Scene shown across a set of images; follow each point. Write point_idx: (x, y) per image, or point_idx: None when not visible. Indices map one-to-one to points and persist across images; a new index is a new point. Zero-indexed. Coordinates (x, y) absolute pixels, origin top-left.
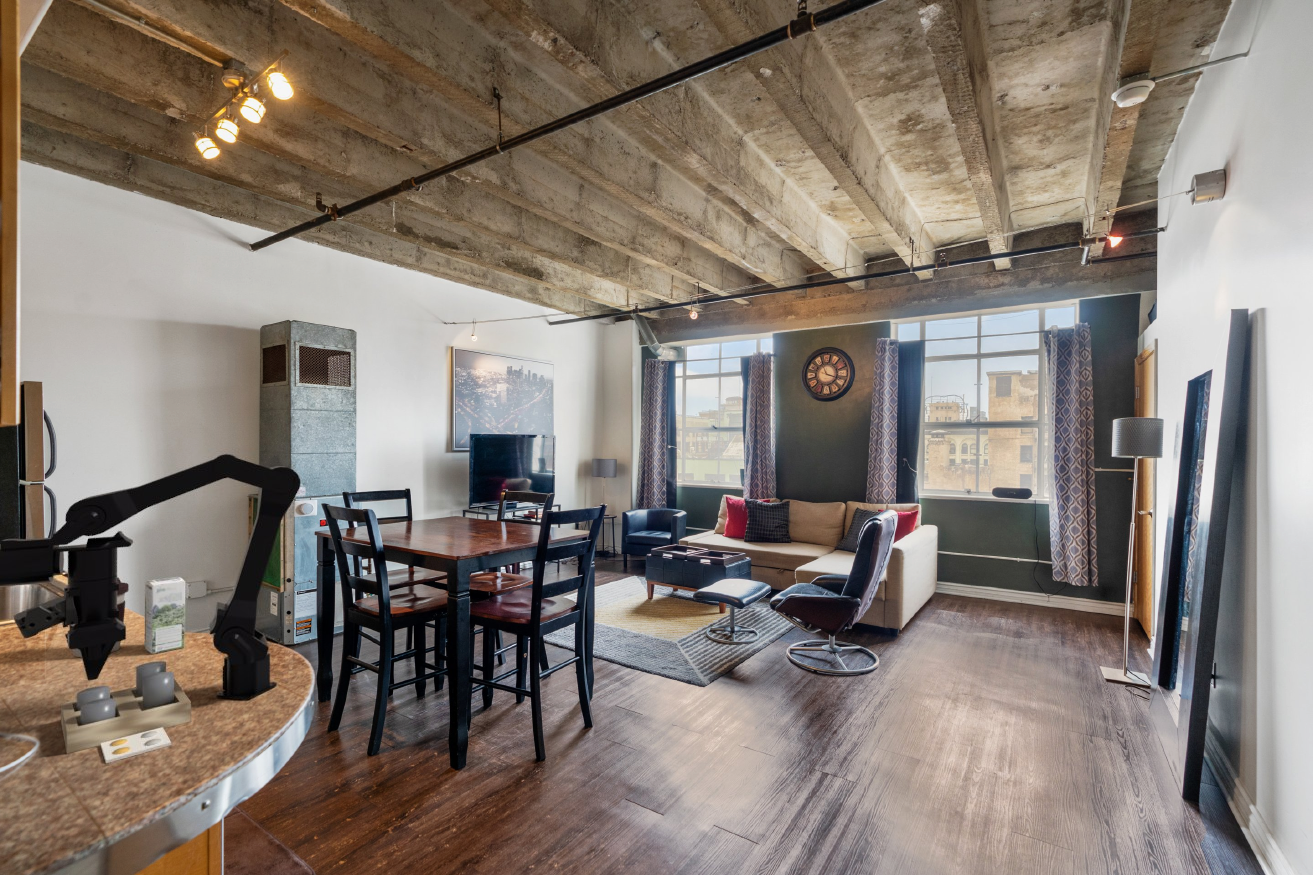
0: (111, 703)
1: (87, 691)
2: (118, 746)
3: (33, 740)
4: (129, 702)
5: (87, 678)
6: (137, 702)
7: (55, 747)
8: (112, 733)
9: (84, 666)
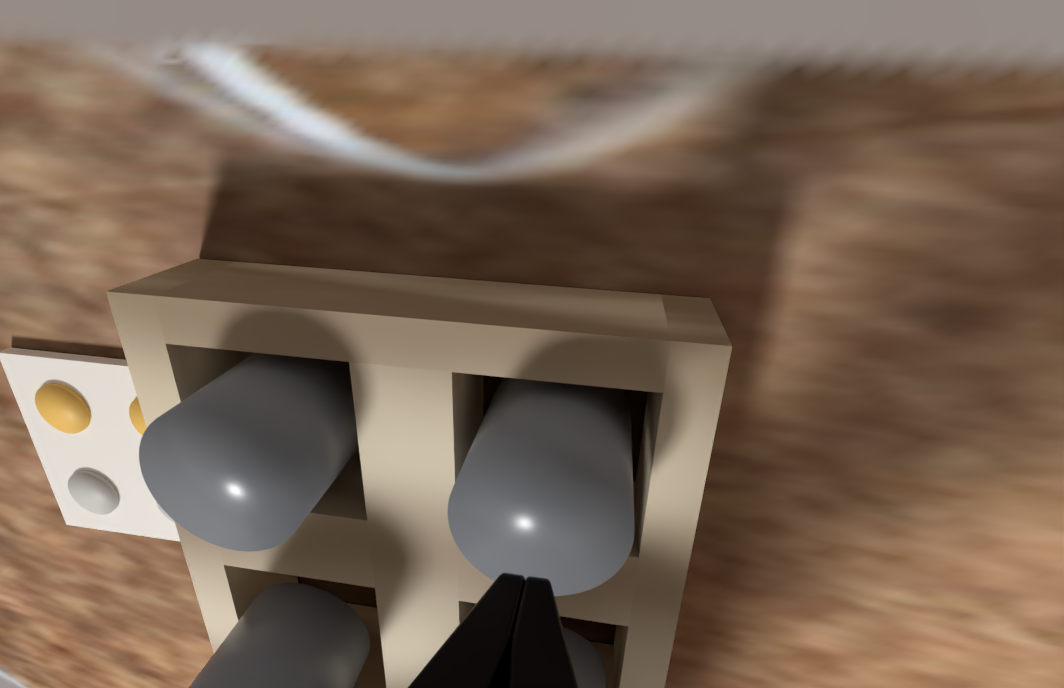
0: (182, 523)
1: (555, 499)
2: (121, 409)
3: (516, 156)
4: (404, 569)
5: (498, 581)
6: (376, 587)
7: (319, 231)
8: None
9: (414, 683)
